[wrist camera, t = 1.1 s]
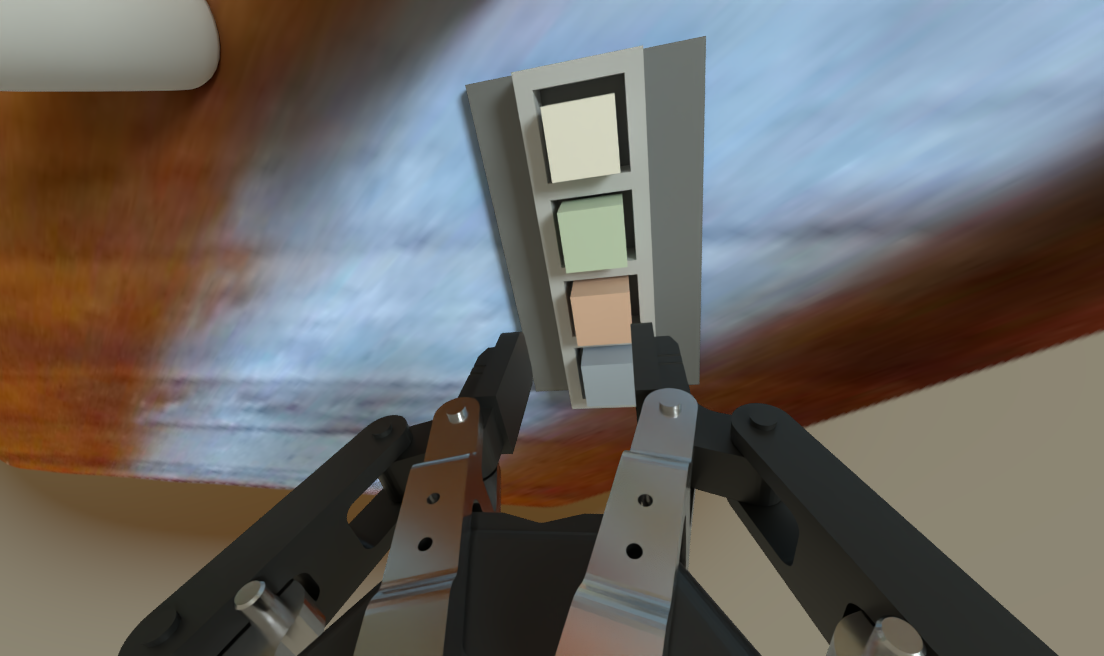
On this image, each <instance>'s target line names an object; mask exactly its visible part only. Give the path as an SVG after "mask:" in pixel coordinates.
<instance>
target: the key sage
mask: <svg viewBox="0 0 1104 656" xmlns="http://www.w3.org/2000/svg"><path fill="white" fill-rule="evenodd" d="M557 216H558V223H559V229H560V236H561V242H562V248H563V255H564V261H565V267H566V273H574V272H584V271H594V270H604V269H614V268H624V267H628V265H627V251H626V238H625V225H624V211H623V198H622V193H621V194H613V195H606V196H599V197H592V198H584V199H577V200H570V201H562V203H561V205H560V208H559V210H558V212H557Z"/></svg>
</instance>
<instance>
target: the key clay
mask: <svg viewBox="0 0 1104 656" xmlns="http://www.w3.org/2000/svg"><path fill="white" fill-rule="evenodd" d="M570 299H571V306H572V312H573V318H574V325H575V331H576V338H577V344H578V346H591V345H606V344H622V343H632V342H631V327H630V324H632V317H631V303H630V290H629V277H628V275H624V276H614V277H604V278H594V279H583V280H574V282H573V287H572V291H571V296H570Z"/></svg>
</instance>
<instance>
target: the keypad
mask: <svg viewBox="0 0 1104 656" xmlns="http://www.w3.org/2000/svg"><path fill="white" fill-rule="evenodd" d="M705 58H706V36H703V37H698V38H693V39H689V40H684V41H679V42H674V43H669V44H664V45H659V46H654V47H649V48H645V49H643V46H638V47H633V48H629V49H624V50H619V51H614V52H609V53H604V54H599V55H595V56H590V57H585V58H580V59H575V60H570V61H565V62H561V63H556V64H551V65H546V66H541V67H536V68H531V69H526V70H522V71H517V72H512V73H511V74H512V76H507V77H503V78H498V79H493V80H488V81H483V82H478V83H473V84H468V85H465V86H466V90H467V95H468V99H469V103H470V108H471V112H472V116H473V121H474V125H475V129H476V134H477V138H478V142H479V147H480V151H481V155H482V159H483V164H484V168H485V172H486V177H487V181H488V185H489V190H490V194H491V198H492V203H493V207H494V211H495V216H496V220H497V224H498V229H499V233H500V237H501V241H502V246H503V250H504V254H505V259H506V263H507V267H508V272H509V276H510V280H511V285H512V289H513V293H514V298H515V302H516V306H517V310H518V315H519V319H520V323H521V328H522V332H523V334H524V336H525V340H526V344H527V348H528V353H529V357H530V361H531V366H532V372H533V380H534V384H535V388H536V391H559V390H569V394H570V400H571V405H572V409H585V408H614V407H636V405H621V406H593V407H587V401H586V395H585V389H584V382H583V376H582V370H581V362H582V354H583V347H598V346H614V345H629V344H632V343H622V344H606V345H591V346H578V344H577V338H576V331H575V325H574V318H573V312H572V306H571V299H570V296H571V291H572V287H573V282H574V280H583V279H594V278H604V277H614V276H624V275H628V277H629V290H630V303H631V317H632V324H633V323H647V322H652V325H653V331H654V337H656V336H670V337H672V338H673V339H674V340H675V341H676V342H677V343H678V345H679V349H680V353H681V357H682V361H683V365H684V369H685V373H686V377H687V381H688V385H693V384H699V369H700V317H701V265H702V214H703V162H704V110H705ZM610 93H615V106H616V120H617V133H618V146H619V159H620V173H617V174H610V175H604V176H597V177H590V178H583V179H576V180H570V181H563V182H556V183H552V178H551V172H550V165H549V159H548V153H547V146H546V140H545V133H544V127H543V121H542V114H541V108H540V107H543V106H546V105H551V104H556V103H562V102H567V101H573V100H578V99H583V98H589V97H594V96H599V95H605V94H610ZM621 193H622V198H623V211H624V225H625V238H626V251H627V265H628V267H624V268H614V269H604V270H594V271H584V272H574V273H566V267H565V261H564V255H563V248H562V242H561V236H560V229H559V223H558V216H557V212H558V210H559V208H560V205H561V203H562V201H570V200H577V199H584V198H592V197H599V196H606V195H613V194H621Z"/></svg>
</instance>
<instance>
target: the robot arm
mask: <svg viewBox="0 0 1104 656" xmlns="http://www.w3.org/2000/svg"><path fill="white" fill-rule="evenodd" d="M630 327H631V342H632V357H633V372H634V387H635V400H636V412H637V428H636V431H635V435H634V439H633V442H632V446H631V449H630V451H626V450H625V451H624V452H623V454H622V456H621V459H620V462H619V466H618V469H617V472H616V476H615V479H614V482H613V485H612V489H611V492H610V496H609V499H608V502H607V505H606V509H605V512H604V514H581V515H576V516H572V517H568V518H563V519H559V520H554V521H550V522H546V523H538V522H534V521H530V520H527V519H524V518H520V517H517V516H513V515H510V514H506V513H501V470H500V466H499V463H498V462H499V459H500V456H501V454H513V451H514V448H515V444H516V441H517V437H518V433H519V430H520V426H521V423H522V419H523V415H524V412H525V408H526V404H527V401H528V397H529V394H530V390H531V386H532V381H533V372H532V366H531V361H530V357H529V353H528V348H527V344H526V340H525V336H524V334H523V332H511V333H502V334H501V335H500V337H499V339H498V341H497V343H496V346H495V347H491V348H487V349H486V350H485V351H484V352H483V353H482V354H481V355H480V356H479V357H478V359H477V361H476V363H475V365H474V367H473V369H472V371H471V372H470V375H469V376H468V378H467V380H466V382H465V384H464V386H463V388H462V390H461V392H460V394H459V396H458V398H456V399H453V400H450V401H448V402H446V403H445V404H443V405H442V406H441V407H440V408H439V409H438V410H437V411H436V413H435V415H434V418H433V420H431V421H428V422H424V423H421V424H417V425H413V426H408V424H407V421H406V420H405V418H403V417H402V416H398V415H390V416H386V417H383V418H380V419H378V420H376V421H374V422H372V423H371V424H370V425H368V426H367V427H366V428H365V429H363V430H362V431H361V432H360V433H359V434H358V435H357V436H355V437H354V438H353V439H352V440H351V441H350V442H348V443H347V444H346V445H345V446H344V447H343V448H341V449H340V450H339V451H338V452H337V453H336V454H334V455H333V456H332V457H331V458H330V459H329V460H327V461H326V462H325V463H324V464H323V465H322V466H321V467H319V468H318V469H317V470H316V471H315V472H314V473H312V474H311V475H310V476H309V477H308V478H307V479H305V480H304V481H303V482H302V483H301V484H300V485H298V486H297V487H296V488H295V489H294V490H293V491H292V492H290V493H289V494H288V495H287V496H286V497H285V498H283V499H282V500H281V501H280V502H279V503H278V504H276V505H275V506H274V507H273V508H272V509H271V510H269V511H268V512H267V513H266V514H265V515H264V516H263V517H262V518H260V519H259V520H258V521H257V522H256V523H254V524H253V525H252V526H251V527H250V528H249V529H248V530H246V531H245V532H244V533H243V534H242V535H240V536H239V537H238V538H237V539H236V540H235V541H233V542H232V543H231V544H230V545H229V546H228V547H227V548H225V549H224V550H223V551H222V552H221V553H220V554H219V555H217V556H216V557H215V558H214V559H213V560H212V561H210V562H209V563H208V564H207V565H206V566H204V567H203V568H202V569H201V570H200V571H199V572H198V573H196V574H195V575H194V576H193V577H192V578H191V579H189V580H188V581H187V582H186V583H185V584H184V585H183V586H181V587H180V588H179V589H178V590H177V591H175V592H174V593H173V594H172V595H171V596H170V597H169V598H167V599H166V600H165V601H164V602H163V603H162V604H161V605H159V606H158V607H157V608H156V609H155V610H153V611H152V612H151V613H150V614H149V615H148V616H147V617H146V618H144V619H143V620H142V621H141V622H140V623H139V624H138V626H137V627H136V628H135V629H134V630H133V631H132V633H131V634H130V635H129V636H128V638H127V639H126V641H125V642H124V644H123V646H122V647H121V650H120V652H119V655H118V656H761V655H760V653H759V652H758V651H757V650H756V649H755V648H754V647H753V645H752V644H751V643H750V642H749V641H748V640H747V639H746V637H745V636H744V635H743V634H742V633H741V632H740V630H739V629H738V628H737V627H736V626H735V625H734V623H732V621H731V620H730V619H729V618H728V616H727V615H726V614H725V613H724V612H723V611H722V610H721V609H720V607H719V606H718V605H717V604H716V603H715V601H714V600H713V599H712V598H711V597H710V596H709V595H708V593H707V592H706V591H705V590H704V589H703V588H702V586H701V585H700V584H699V583H698V582H697V581H696V580H695V578H694V577H693V576H692V575H691V574H690V573H689V571H688V567H689V553H690V536H691V527H692V518H693V509H694V499H695V489H698V490H701V491H705V492H709V493H712V494H716V495H719V496H723V497H726V498H727V500H728V502H729V504H730V505H731V507H732V508H733V510H734V511H735V512H736V514H737V515H738V517H739V518H740V519H741V521H742V522H743V524H744V525H745V526H746V528H747V529H748V531H749V532H750V533H751V535H752V536H753V538H754V539H755V540H756V542H757V543H758V545H759V546H760V548H761V549H762V550H763V552H764V553H765V555H766V556H767V558H768V559H769V560H770V562H771V563H772V565H773V566H774V567H775V569H776V570H777V572H778V573H779V574H780V576H781V577H782V578H783V580H784V581H785V583H786V584H787V586H788V587H789V589H790V590H791V591H792V593H793V594H794V595H795V597H796V598H797V600H798V601H799V602H800V604H801V605H802V607H803V608H804V609H805V611H806V612H807V614H808V615H809V617H810V618H811V619H812V621H813V622H814V624H815V625H816V627H817V628H818V629H819V631H820V632H821V634H822V635H823V636H824V638H825V639H826V640H827V642H828V643H829V645H830V646H829V648H828V651H827V654H826V656H1058V655H1057V654H1056V653H1055V652H1054V651H1053V650H1052V649H1050V648H1049V647H1048V646H1047V645H1046V644H1045V643H1044V642H1043V641H1041V640H1040V639H1039V638H1038V637H1037V636H1036V635H1035V634H1034V633H1033V632H1031V631H1030V630H1029V629H1028V628H1027V627H1026V626H1025V625H1024V624H1022V623H1021V622H1020V621H1019V620H1018V619H1017V618H1016V617H1014V616H1013V615H1012V614H1011V613H1010V612H1009V611H1008V610H1007V609H1006V608H1004V607H1003V606H1002V605H1001V604H1000V603H999V602H998V601H997V600H996V599H994V598H993V597H992V596H991V595H990V594H989V593H988V592H986V591H985V590H984V589H983V588H982V587H981V586H980V585H979V584H978V583H977V582H975V581H974V580H973V579H972V578H971V577H970V576H969V575H967V574H966V573H965V572H964V571H963V570H962V569H961V568H960V567H959V566H957V565H956V564H955V563H954V562H953V561H952V560H951V559H950V558H948V557H947V556H946V555H945V554H944V553H943V552H942V551H941V550H940V549H938V548H937V547H936V546H935V545H934V544H933V543H932V542H931V541H929V540H928V539H927V538H926V537H925V536H924V535H923V534H922V533H920V532H919V531H918V530H917V529H916V528H915V527H914V526H913V525H911V524H910V523H909V522H908V521H907V520H906V519H905V518H904V517H903V516H901V515H900V514H899V513H898V512H897V511H896V510H895V509H894V508H892V507H891V506H890V505H889V504H888V503H887V502H886V501H885V500H884V499H882V498H881V497H880V496H879V495H878V494H877V493H876V492H875V491H873V490H872V489H871V488H870V487H869V486H868V485H867V484H865V483H864V482H863V481H862V480H861V479H860V478H859V477H858V476H857V475H856V474H854V473H853V472H852V471H851V470H850V469H849V468H848V467H847V466H845V465H844V464H843V463H842V462H841V461H840V460H839V459H838V458H836V457H835V456H834V455H833V454H832V453H831V452H830V451H829V450H828V449H826V448H825V447H824V446H823V445H822V444H821V443H820V442H819V441H817V440H816V439H815V438H814V437H813V436H812V435H811V434H809V433H808V432H807V431H806V430H805V429H804V428H803V427H802V426H801V425H800V424H798V423H797V422H796V421H795V420H794V419H793V418H792V417H791V416H789V415H788V414H787V413H786V412H784V411H783V410H781V409H779V408H777V407H774V406H771V405H767V404H760V403H752V404H746V405H743V406H740V407H739V408H737V409H736V410H735V411H734V412H733V414H732V415H728V414H723V413H718V412H714V411H711V410H708V409H706V408H704V407H702V406H701V405H699V404H698V403H697V401H696V400H695V398H694V397H693V396H692V395H691V393H690V389H689V385H688V381H687V377H686V373H685V369H684V365H683V361H682V357H681V353H680V349H679V345H678V343H677V342H676V341H675V340H674V339H673V338H672V337H670V336H656V337H654V331H653V325H652V322H647V323H633V324H630ZM377 478H378V479H379V480H380V482H381V484H382V486H383V489H382V490H381V491H380V492H379V493H378V494H377V495H376V496H375V497H374V499H373V500H372V501H371V502H370V503H369V504H368V505H367V506H366V507H365V508H364V509H363V510H362V511H361V512H360V513H359V514H358V515H357V516H356V517H355V518H354V519H353V520H352V521H351V522H350V524H348V522H347V513H348V510H349V508H350V506H351V505H352V503H354V501H355V500H356V499H357V498H358V497H359V496H360V495H361V494H362V493H363V492H364V491H365V490H366V489H367V488H368V487H369V486H370V485H371V484H372V483H373V482H374V481H375V480H376V479H377ZM389 549H390V552H389V556H388V560H387V564H386V568H385V572H384V576H383V579H382V581H381V582H380V583H379V584H378V585H376V586H375V587H374V588H373V589H372V590H371V591H370V592H368V593H367V594H366V595H365V596H364V597H363V598H362V599H360V600H359V601H358V602H357V603H356V604H355V605H354V606H353V607H351V608H350V609H349V610H348V611H347V612H346V613H345V614H344V615H343V616H341V617H340V618H339V619H338V620H337V621H336V622H334V623H333V624H332V625H331V626H330V627H329V628H328V629H326V630H325V631H324V628H325V626H326V625H327V624H328V623H329V622H330V620H331V619H332V618H333V617H334V616H335V614H336V613H337V612H338V611H339V609H340V608H341V607H342V606H343V605H344V603H345V602H346V601H347V600H348V599H349V597H350V596H351V595H352V594H353V593H354V591H355V590H356V589H357V588H358V587H359V585H360V584H361V583H362V582H363V581H364V579H365V578H366V577H367V575H369V573H370V572H371V571H372V570H373V569H374V567H375V566H376V565H377V564H378V562H379V561H380V560H381V559H382V558H383V556H384V555H385V554H386V553H387V551H388V550H389Z"/></svg>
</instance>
